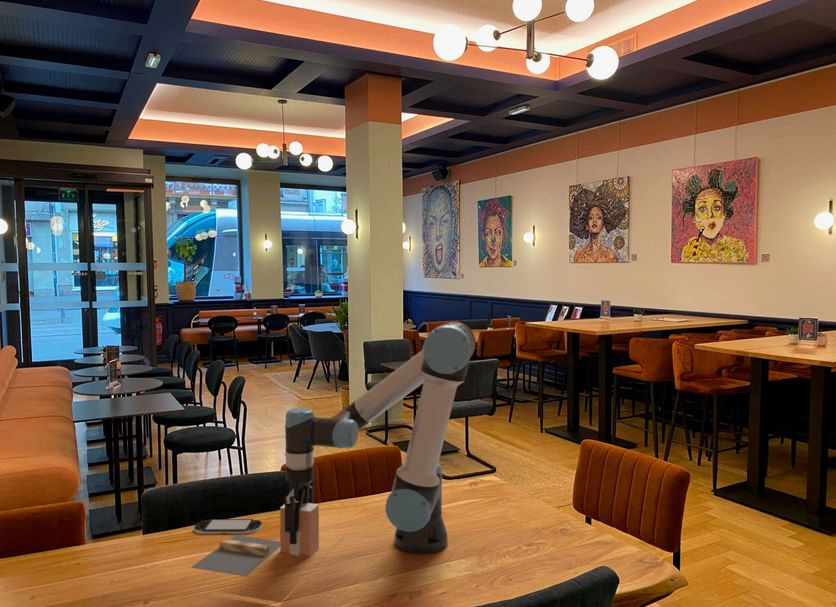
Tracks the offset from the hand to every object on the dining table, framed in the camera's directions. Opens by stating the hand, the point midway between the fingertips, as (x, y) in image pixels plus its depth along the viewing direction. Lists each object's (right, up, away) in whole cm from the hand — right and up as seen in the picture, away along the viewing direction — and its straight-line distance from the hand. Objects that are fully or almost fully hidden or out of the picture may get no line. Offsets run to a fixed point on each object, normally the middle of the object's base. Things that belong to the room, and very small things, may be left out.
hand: (299, 549), depth 164 cm
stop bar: (-15, 0, -1) cm, 15 cm away
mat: (-15, -1, -3) cm, 16 cm away
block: (0, -1, 0) cm, 1 cm away
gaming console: (-24, -1, +14) cm, 28 cm away
